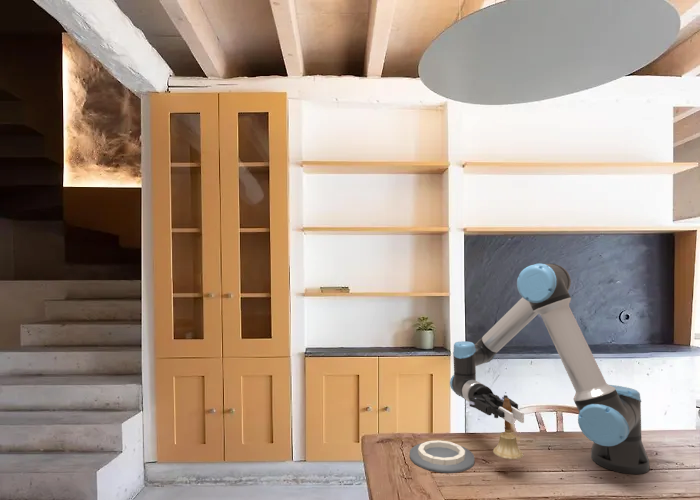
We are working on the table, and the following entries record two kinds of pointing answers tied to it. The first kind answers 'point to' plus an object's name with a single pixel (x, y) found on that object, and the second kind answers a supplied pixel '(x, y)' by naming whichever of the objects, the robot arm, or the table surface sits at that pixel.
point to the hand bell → (508, 440)
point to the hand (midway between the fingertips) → (517, 418)
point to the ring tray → (442, 457)
